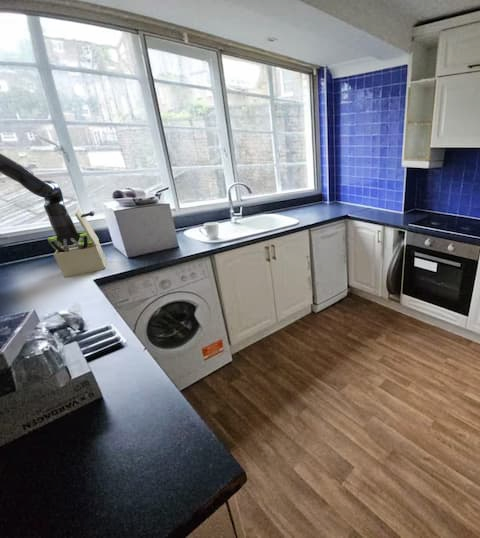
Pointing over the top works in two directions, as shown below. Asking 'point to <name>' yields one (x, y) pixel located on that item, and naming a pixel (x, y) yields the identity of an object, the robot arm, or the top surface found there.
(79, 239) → the green angular block
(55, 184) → the robot arm
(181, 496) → the top surface
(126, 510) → the top surface
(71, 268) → the bin
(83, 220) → the lid
